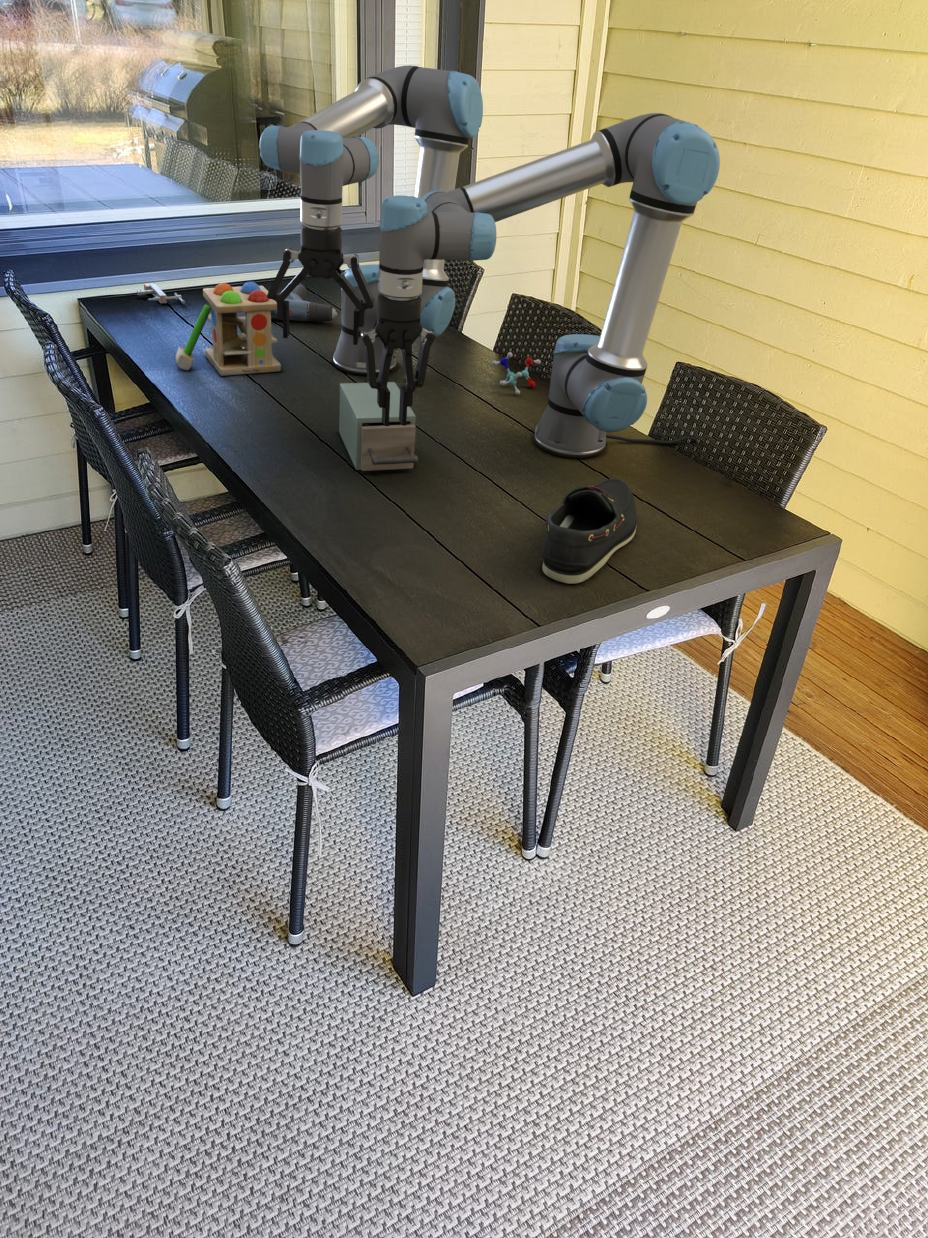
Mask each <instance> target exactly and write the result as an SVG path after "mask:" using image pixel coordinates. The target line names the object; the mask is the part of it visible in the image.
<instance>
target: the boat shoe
mask: <svg viewBox="0 0 928 1238" xmlns="http://www.w3.org/2000/svg"><path fill="white" fill-rule="evenodd" d="M544 524H545V525H544V526H545V529H546V534H545V535H546V536H545V539H544V542H543V548H542V549H543V550H542V551H541V556H542V558H543V562H542V569H541V570H542V572H543V574H544V575H545V576H547V577H548V578H550V579H552V580H555V582H560V583H563V584H567V585H568V584H569V585H571V584H572V585H573V584H580V583H583V582H585V581H587V580H589V579H590V578H591V577H592V576H593V575H595V574H596V573H597V572H598V571H599V570H600V569H601V568H602V567H603V566H605V564H606V563H607V562H608V560H609V559H610V558H611V556H612V555H613V554H614V553H615V552H616V551H618V550H619V549H620V548H622V547H623V546H625V545H626V544H628V543H629V542H630V541H632V540H633V538H634V537H635V534H636V532H637V527H638V515H637V505H636V500H635V496H634V494H633V492H632V490H631V488H630V486H629V485H628V484H627V483H626V482H625V481H623V480H622V479H619V478H608V479H605V480H602V481H600V482H597V483H596V484H594V485H582V486H579V487H576V488H575V489H572V490H570V491H569V492H568V493H567V494H566V495H565V497H563V499H562V501H561V503H560V505H558V506H557V507H556V508H555V509H554V510H553V511H552V512H551V513H550V514H549V515H548V517H547V519H546V520H545V523H544Z"/></svg>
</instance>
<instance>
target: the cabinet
mask: <svg viewBox="0 0 928 1238" xmlns="http://www.w3.org/2000/svg"><path fill="white" fill-rule="evenodd" d="M387 388H388V389H389V391H390V412H389V422H400V421H399V406H400V387H399V386H398V385H397V383H396V382H395V381H388V383H387ZM338 417H339V423H338V425H339V426H338V428H339V429H338V430H339V431H338V432H339V434H340V437H341V441H342V442H343V444H344V447H345V449H346V451H347V453H348V455H349V458H350V460H351V463H352V464H353V467H354V469H355V470H356V471H362V470H361V438H362V423H378V422H382V408H380V407H379V406H378V403H377V389H375V388H374V389H372V388H371V387H370V385H369V383H368V382H350V383H349V382H348V383H347V382H346V383H345V382H343V383H339V416H338ZM416 419H417V416H416V414H415V413H414V411H413V409H412V408H411V407H407V419H406V421H407V423H408V425H411V424H414V425H415V426H416V422H417V421H416Z"/></svg>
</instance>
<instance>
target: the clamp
mask: <svg viewBox="0 0 928 1238" xmlns="http://www.w3.org/2000/svg"><path fill="white" fill-rule="evenodd" d="M136 293H137V296H146V295H153V297H152V298H148V301H149V302H151V301H153V302H156V301H158V302H159V303H160V304H167V303H168V301H171V300H176V301H180V302H181V304H183V305H184V304H185V303H186V300H185V299H183V296H182V295H181V294H178V292H174V294H173V296H167V294H166V293H165V292H164V291H163V290H162V289H161V288H160V287H159V286H158V285H157V284H156V283H144V284H143V289H137V290H136Z"/></svg>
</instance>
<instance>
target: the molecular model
mask: <svg viewBox="0 0 928 1238" xmlns="http://www.w3.org/2000/svg"><path fill="white" fill-rule="evenodd" d="M512 357H513V353H512V352H510V351H509V352H507V355H506V357H502V358H501V359H500V360H492V361H491V365H492V366H498V365H501V366H503V367H504V368H505V370H506V372H507V374H506V379H505V380H500V381H499V386H501V387H504V386H505V387H506V386H507V385H509V386H511V387H512V388H513V389H514V394H515V396H519V395H521V390H520V389H518V387H517V385H516V384H517V380H518V379H519V378H521V377H522V378H524V379H525V381H526V382H527V383H528V387H529V388H532V389H533V388H535V386H536V381H533V380H532V378H531V376H529V375H530V374H529V371H528V370H529V368H530V365H532V364H536V365H540V364H542V360H541V359H538V358H537V359H533V358H531V357H527V358H526V359H525V363H526V366H525V368H524V370H521V371H517V372H516V373H514V372H513V371H511V370H510V368H509V365H508V362H509V359H510V358H512Z"/></svg>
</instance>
